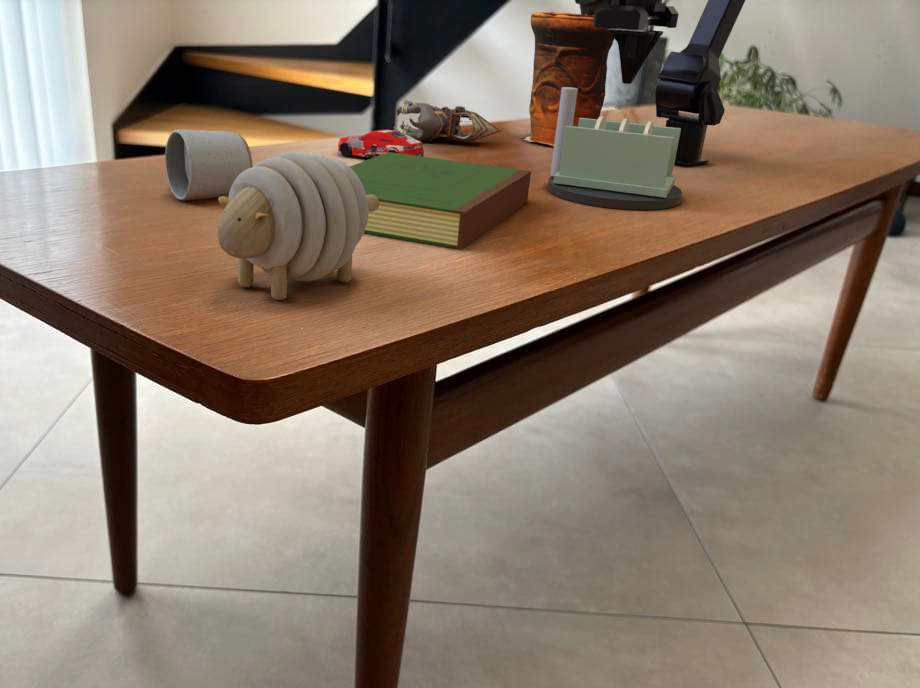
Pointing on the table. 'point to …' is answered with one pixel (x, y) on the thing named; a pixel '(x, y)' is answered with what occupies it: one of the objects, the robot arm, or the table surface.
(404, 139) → the race car
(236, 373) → the table surface
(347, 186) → the toy sheep
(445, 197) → the hardcover book
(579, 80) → the vessel
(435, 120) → the figurine
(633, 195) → the turntable
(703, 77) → the robot arm
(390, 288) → the table surface
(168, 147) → the ceramic mug
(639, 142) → the dish rack
